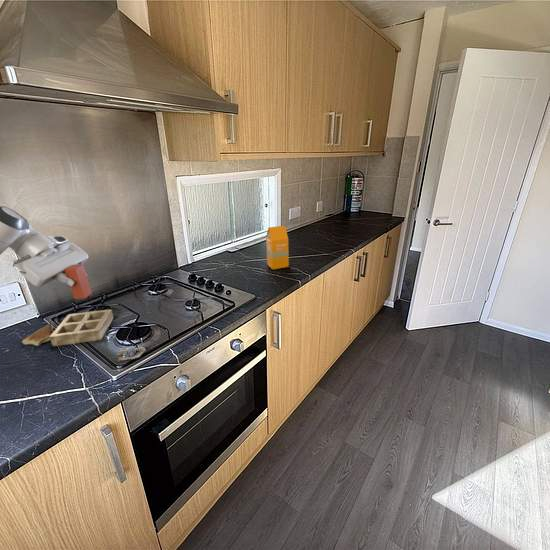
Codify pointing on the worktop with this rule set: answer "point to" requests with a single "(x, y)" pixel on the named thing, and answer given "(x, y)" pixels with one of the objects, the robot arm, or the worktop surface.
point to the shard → (39, 335)
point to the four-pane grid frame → (82, 327)
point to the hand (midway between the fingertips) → (80, 280)
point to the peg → (78, 281)
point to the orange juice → (277, 247)
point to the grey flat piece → (130, 353)
